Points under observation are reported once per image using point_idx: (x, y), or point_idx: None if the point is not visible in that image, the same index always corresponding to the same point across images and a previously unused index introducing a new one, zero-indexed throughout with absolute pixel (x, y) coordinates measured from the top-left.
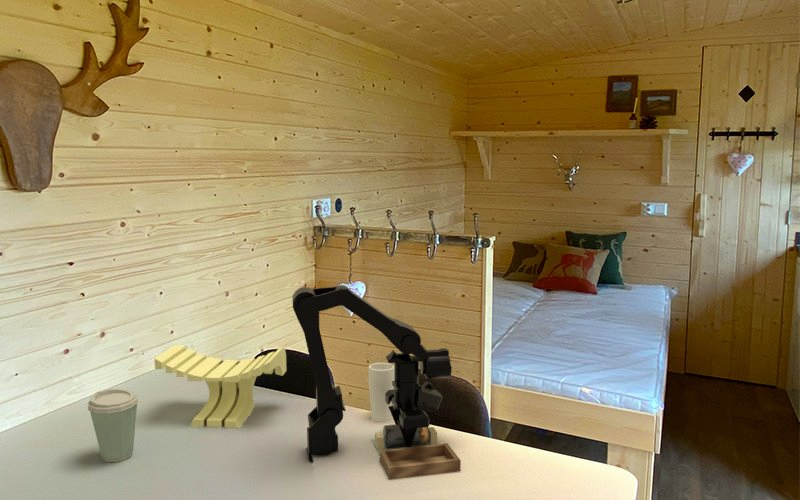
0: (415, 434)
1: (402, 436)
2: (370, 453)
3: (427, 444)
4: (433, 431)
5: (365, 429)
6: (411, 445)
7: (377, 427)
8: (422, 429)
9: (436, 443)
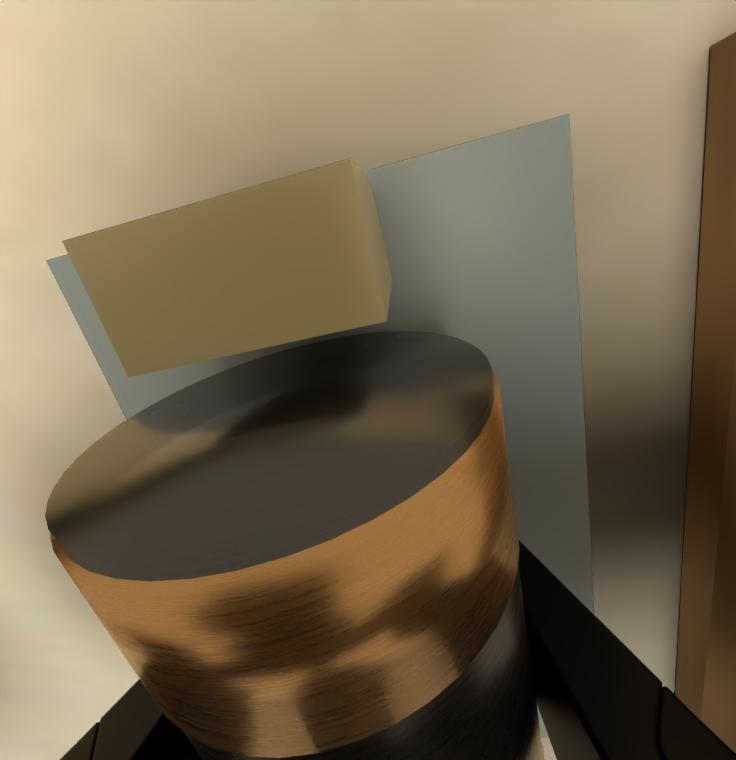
0: (522, 622)
1: (541, 753)
2: None
3: (389, 327)
4: (325, 256)
5: (70, 718)
6: (522, 544)
7: (10, 660)
8: (488, 579)
9: (374, 193)
